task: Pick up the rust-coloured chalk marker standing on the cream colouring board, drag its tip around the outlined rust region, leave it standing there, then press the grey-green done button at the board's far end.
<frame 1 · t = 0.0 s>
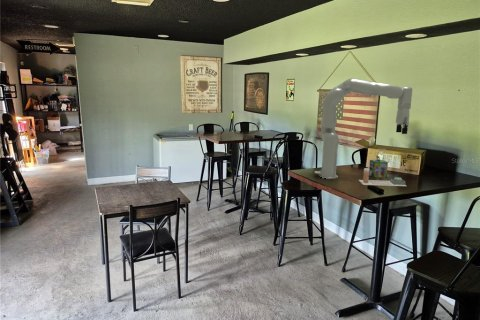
hand: (401, 133, 214), 31 cm above the table, fingers open, 9 cm apart
rust marker: (365, 182, 208), point 1 cm above the table, touching colouring board
done button: (397, 179, 206), point 3 cm above the table, slide at 0.0 cm
chalk box: (377, 177, 226), on the table
colouring board: (381, 184, 208), on the table
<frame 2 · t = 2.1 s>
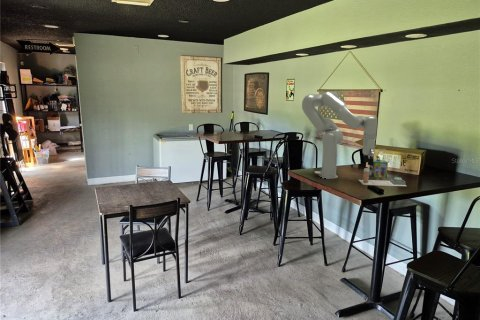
hand: (368, 163, 206), 13 cm above the table, fingers open, 9 cm apart
nothing on the table moved.
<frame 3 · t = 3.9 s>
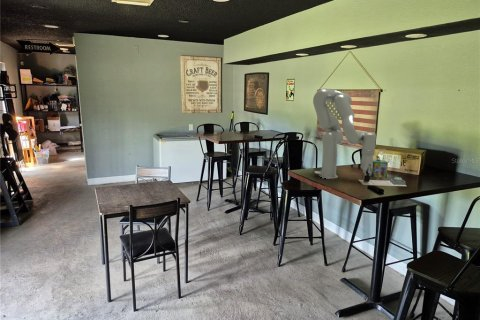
hand: (365, 180, 208), 2 cm above the table, fingers closed on rust marker, 3 cm apart
rust marker: (365, 182, 208), point 1 cm above the table, touching colouring board, gripper
everything else where it was.
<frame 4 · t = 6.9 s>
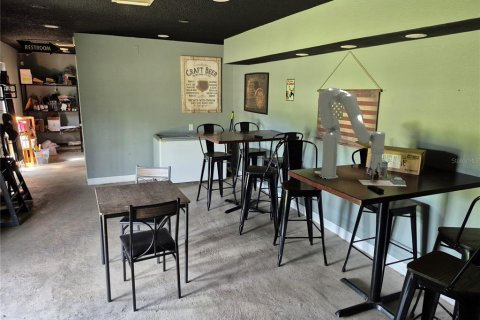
hand: (374, 179, 209), 3 cm above the table, fingers closed on rust marker, 3 cm apart
rust marker: (374, 181, 210), point 1 cm above the table, touching gripper
everything else where it was.
when the fingers open (2 cm above the table, at t = 10.2 s): rust marker stays where it is, resting on colouring board.
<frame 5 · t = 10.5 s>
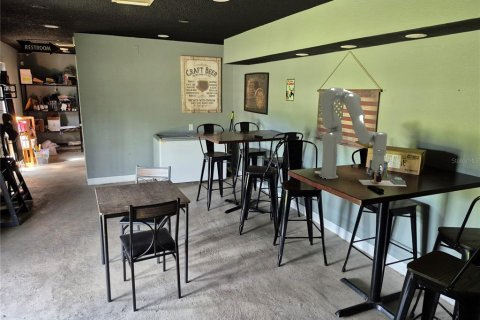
hand: (376, 180, 205), 3 cm above the table, fingers open, 6 cm apart
rust marker: (376, 183, 206), point 1 cm above the table, touching colouring board
everything else where it was.
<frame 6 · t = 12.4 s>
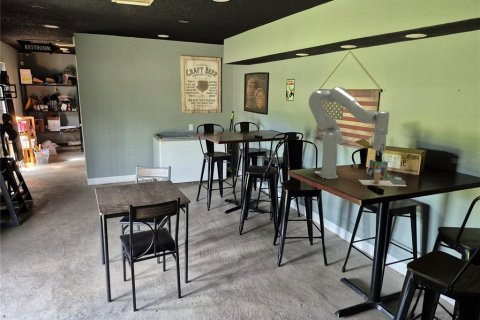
hand: (378, 161, 203), 15 cm above the table, fingers closed
nothing on the table moved.
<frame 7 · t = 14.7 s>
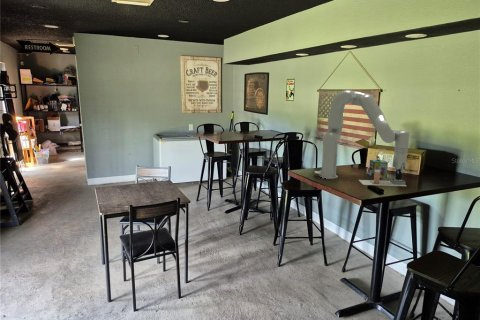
hand: (398, 179, 206), 3 cm above the table, fingers closed
done button: (397, 180, 206), point 2 cm above the table, slide at 0.8 cm, touching gripper
everything else where it was.
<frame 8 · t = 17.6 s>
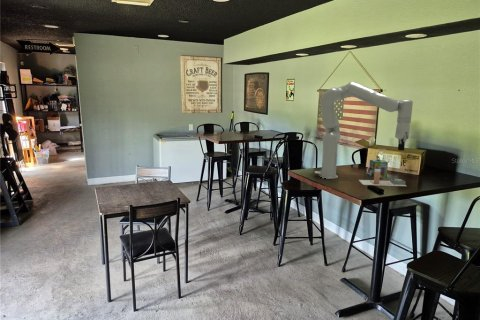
hand: (400, 150, 202), 22 cm above the table, fingers closed
done button: (397, 181, 206), point 2 cm above the table, slide at 1.0 cm
everything else where it was.
at the end: rust marker inside the target area (4.0 cm from its centre), point 0.9 cm above the table; done button slide at 1.0 cm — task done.
